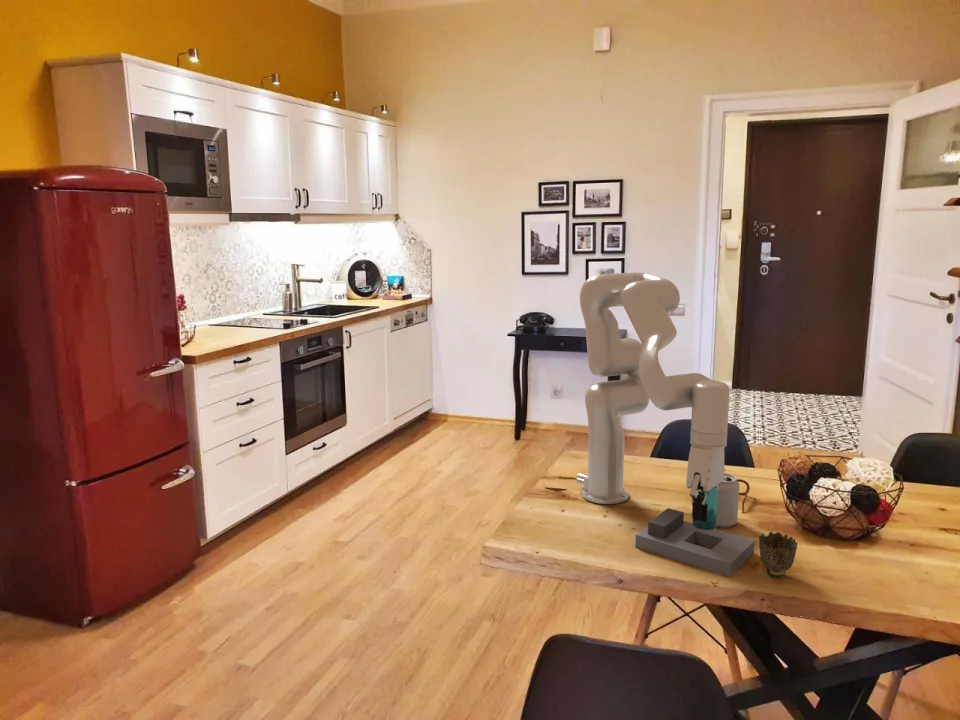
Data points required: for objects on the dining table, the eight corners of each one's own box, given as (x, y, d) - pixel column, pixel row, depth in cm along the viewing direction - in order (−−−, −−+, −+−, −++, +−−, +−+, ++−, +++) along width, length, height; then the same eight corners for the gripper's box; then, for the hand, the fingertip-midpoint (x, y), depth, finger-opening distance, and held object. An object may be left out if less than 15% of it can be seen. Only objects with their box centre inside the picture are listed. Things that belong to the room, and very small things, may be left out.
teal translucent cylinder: (688, 525, 158) (690, 487, 156) (698, 518, 161) (700, 480, 159) (710, 531, 154) (712, 492, 153) (719, 524, 158) (721, 485, 156)
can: (739, 530, 170) (742, 483, 168) (706, 527, 172) (709, 481, 169) (734, 517, 177) (737, 471, 175) (703, 515, 179) (706, 470, 176)
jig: (635, 546, 162) (636, 522, 161) (663, 526, 173) (664, 503, 171) (729, 577, 148) (731, 550, 147) (753, 552, 159) (755, 527, 157)
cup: (772, 585, 144) (774, 549, 143) (749, 569, 151) (751, 534, 150) (802, 580, 147) (805, 544, 145) (778, 563, 153) (781, 529, 152)
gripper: (707, 425, 163) (704, 500, 166) (675, 443, 150) (671, 524, 153) (740, 431, 158) (735, 508, 161) (709, 450, 145) (705, 533, 149)
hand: (704, 514), depth 157 cm, fingers closed on teal translucent cylinder, 4 cm apart
